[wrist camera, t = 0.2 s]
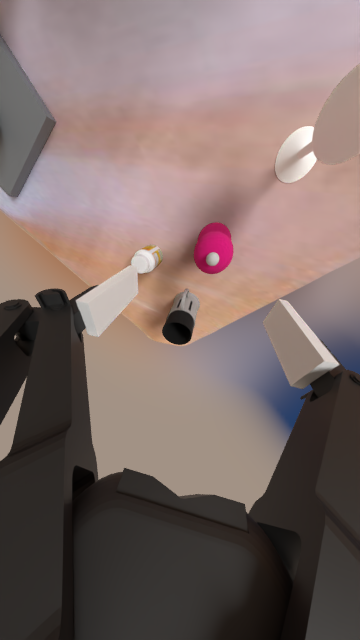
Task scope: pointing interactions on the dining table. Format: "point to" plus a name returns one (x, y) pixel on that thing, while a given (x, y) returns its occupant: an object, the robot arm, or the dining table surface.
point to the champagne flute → (325, 133)
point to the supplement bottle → (147, 259)
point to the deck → (19, 123)
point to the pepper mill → (213, 248)
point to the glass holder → (181, 318)
